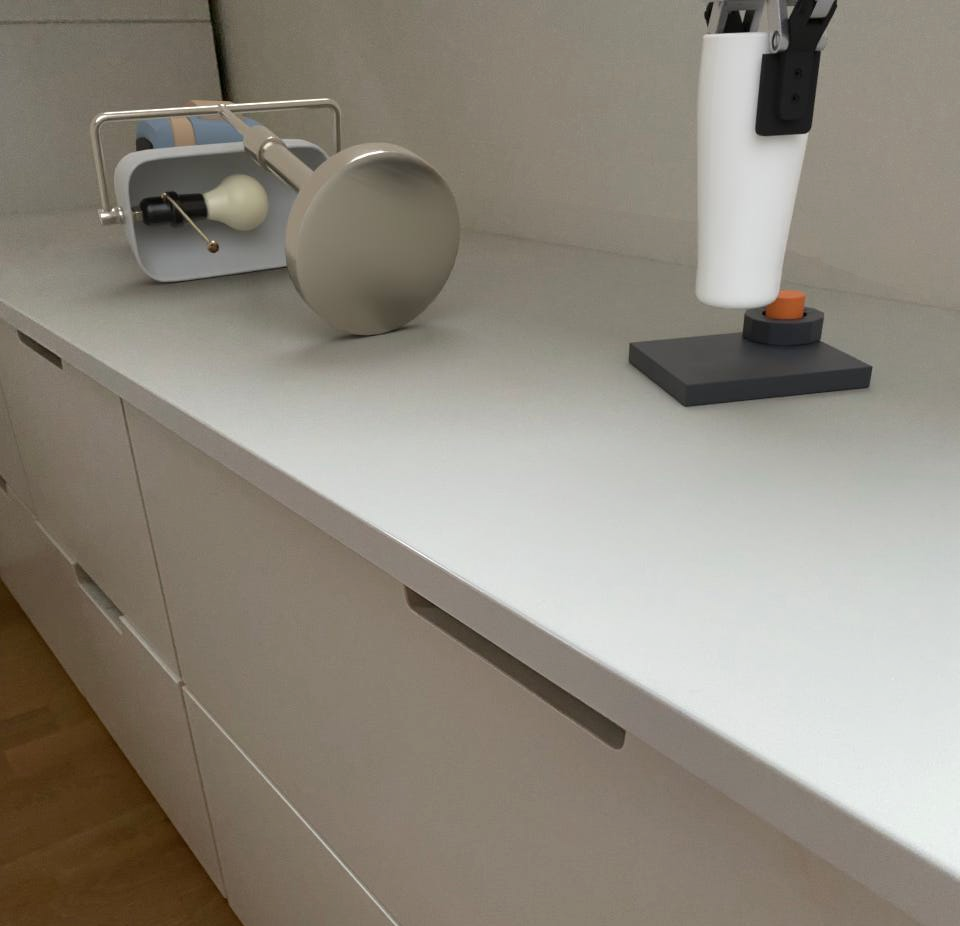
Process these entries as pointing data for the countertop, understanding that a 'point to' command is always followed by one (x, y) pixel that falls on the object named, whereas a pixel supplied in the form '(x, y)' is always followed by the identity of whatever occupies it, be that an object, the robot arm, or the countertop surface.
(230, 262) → the lamp
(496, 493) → the countertop surface
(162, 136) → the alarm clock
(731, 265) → the drinking glass
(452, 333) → the countertop surface
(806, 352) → the scale
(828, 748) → the countertop surface
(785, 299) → the button
